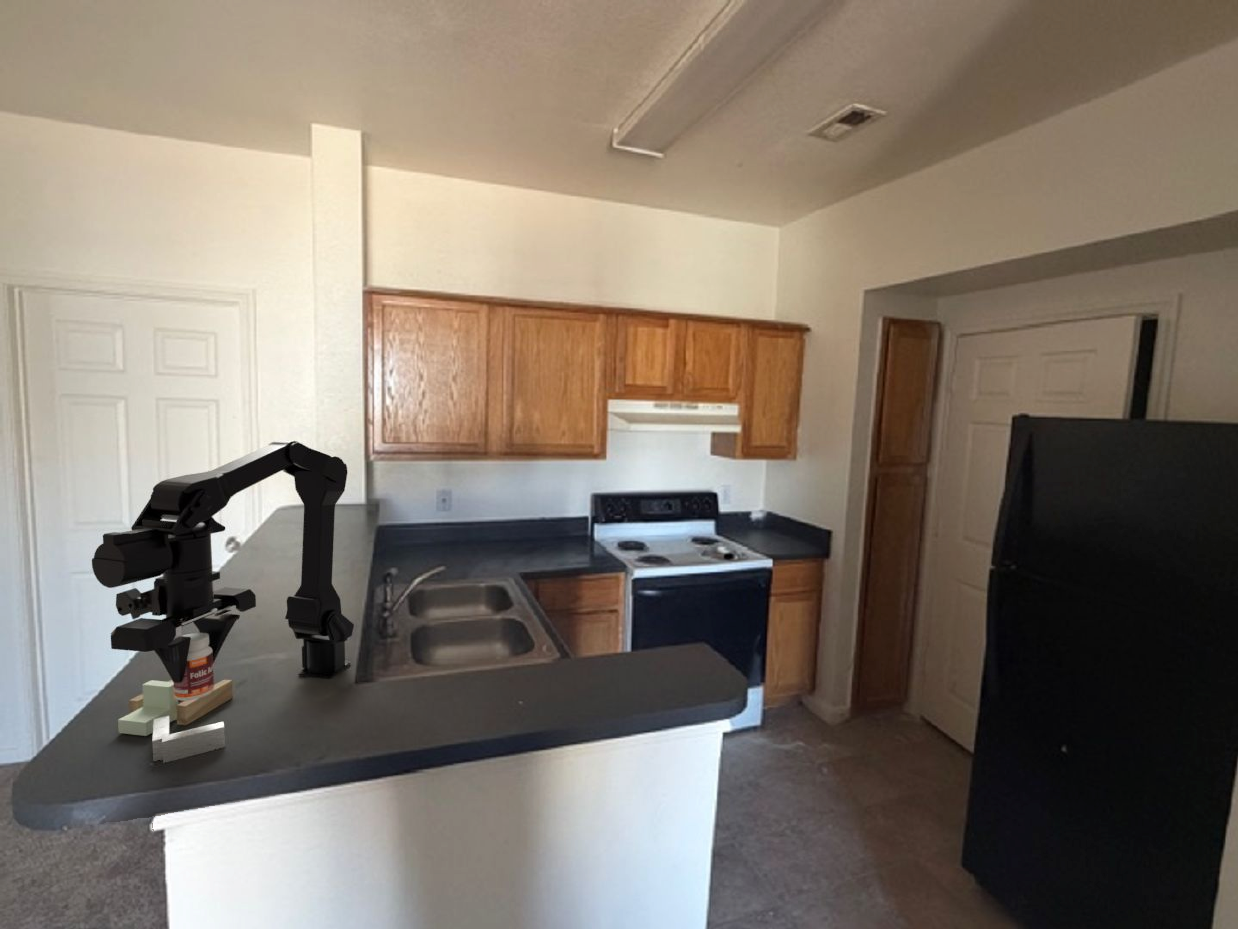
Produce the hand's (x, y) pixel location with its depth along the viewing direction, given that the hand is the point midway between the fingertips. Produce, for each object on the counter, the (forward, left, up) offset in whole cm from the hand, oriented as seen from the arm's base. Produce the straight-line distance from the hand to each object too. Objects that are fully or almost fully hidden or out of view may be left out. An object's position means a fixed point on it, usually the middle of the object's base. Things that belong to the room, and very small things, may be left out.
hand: (193, 674), depth 86 cm
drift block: (+10, -2, -9) cm, 13 cm away
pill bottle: (0, 0, -3) cm, 3 cm away
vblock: (0, +3, -10) cm, 10 cm away
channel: (+10, -8, -10) cm, 16 cm away
